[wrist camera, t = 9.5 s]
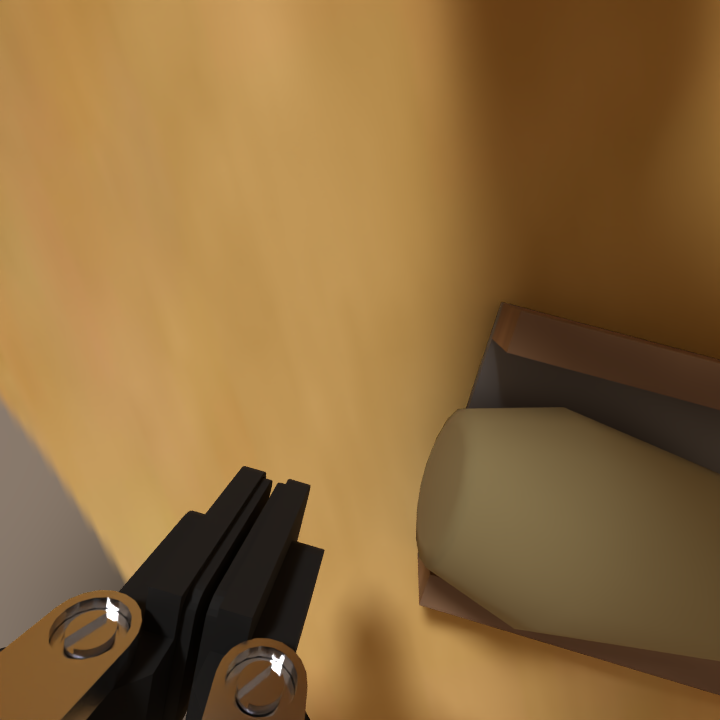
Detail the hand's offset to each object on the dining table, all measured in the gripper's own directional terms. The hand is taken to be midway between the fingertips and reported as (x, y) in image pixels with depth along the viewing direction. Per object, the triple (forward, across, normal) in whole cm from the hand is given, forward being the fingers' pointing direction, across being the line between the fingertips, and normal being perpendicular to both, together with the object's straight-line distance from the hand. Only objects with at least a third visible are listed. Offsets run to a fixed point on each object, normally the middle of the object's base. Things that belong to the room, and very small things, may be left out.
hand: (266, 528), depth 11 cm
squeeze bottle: (+6, -5, +1) cm, 8 cm away
